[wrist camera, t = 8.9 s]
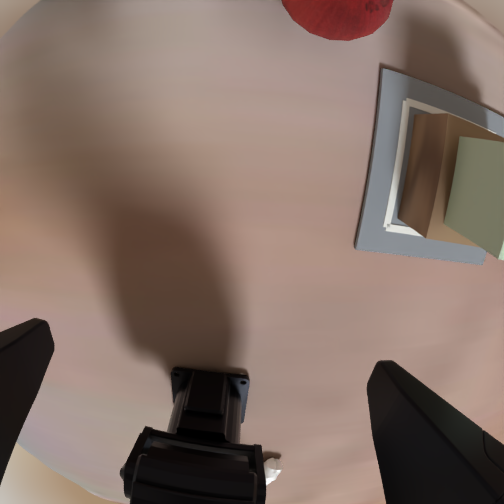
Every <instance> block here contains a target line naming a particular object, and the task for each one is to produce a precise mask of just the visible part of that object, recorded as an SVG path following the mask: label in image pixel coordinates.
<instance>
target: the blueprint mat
mask: <svg viewBox="0 0 504 504" xmlns="http://www.w3.org/2000/svg"><path fill="white" fill-rule="evenodd" d="M439 113H449V114H451V115H454V116H456V117H459V118H461V119H464V120H466V121H468V122H471V123H473V124H475V125H478V126H480V127H482V128H484V129H486V130H489V131H491V132H493V133H495V134H497V135H499V136H501V137H503V138H504V117H502V116H500V115H498V114H496V113H494V112H492V111H490V110H489V109H487V108H485V107H483V106H480V105H478V104H476V103H474V102H472V101H470V100H468V99H466V98H463V97H461V96H459V95H457V94H454V93H452V92H450V91H447V90H445V89H442V88H440V87H437V86H435V85H432V84H429V83H427V82H424V81H421V80H418V79H416V78H413V77H410V76H407V75H404V74H401V73H398V72H394V71H391V70H388V69H385V68H382V69H381V73H380V86H379V97H378V106H377V116H376V124H375V132H374V140H373V147H372V154H371V161H370V167H369V173H368V179H367V185H366V191H365V197H364V202H363V207H362V213H361V218H360V223H359V227H358V232H357V237H356V242H355V246H354V248H355V249H356V250H362V251H371V252H379V253H388V254H396V255H405V256H413V257H421V258H430V259H438V260H446V261H454V262H462V263H470V264H477V265H483V262H484V259H485V256H486V253H487V251H485V250H484V249H482V248H480V247H474V246H468V245H463V244H457V243H451V242H444V241H438V240H432V239H426V238H424V237H423V236H422V235H420V234H419V233H418V232H416V231H415V230H413V229H412V228H410V227H409V226H408V225H406V224H405V223H403V222H402V221H400V220H399V219H398V213H399V208H400V204H401V199H402V194H403V188H404V183H405V177H406V172H407V166H408V159H409V153H410V146H411V139H412V131H413V122H414V115H415V114H439Z"/></svg>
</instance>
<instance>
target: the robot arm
mask: <svg viewBox="0 0 504 504" xmlns="http://www.w3.org/2000/svg"><path fill="white" fill-rule="evenodd" d="M53 352H54V341H53V338H52V334H51V331H50V327H49V324H48V323H47V321H45V320H42V319H38V318H33V319H31V320H28V321H26V322H24V323H21V324H19V325H16V326H14V327H11V328H9V329H7V330H4V331H2V332H0V485H1V482H2V479H3V476H4V473H5V470H6V467H7V464H8V462H9V459H10V456H11V454H12V451H13V449H14V446H15V443H16V441H17V439H18V436H19V434H20V431H21V429H22V427H23V424H24V422H25V420H26V418H27V415H28V413H29V411H30V409H31V407H32V404H33V402H34V400H35V398H36V396H37V394H38V391H39V389H40V386H41V383H42V381H43V378H44V375H45V373H46V370H47V367H48V365H49V362H50V360H51V357H52V355H53ZM176 372H177V373H176ZM178 373H179V374H178ZM171 380H172V391H173V401H174V407H173V411H172V414H171V418H170V422H169V426H168V430H167V432H164V431H160V430H155V429H153V428H152V427H147V426H145V428H144V430H143V432H142V433H140V435H139V437H138V439H137V441H136V443H135V445H134V447H133V449H132V451H131V453H130V455H129V457H128V459H127V461H126V463H125V464H124V466H123V467H122V468H121V470H120V476H121V478H122V479H123V481H124V494H125V497H126V498H129V499H130V504H265V500H266V477H265V470H264V462H263V454H262V446H261V445H257V444H254V445H246V444H240V428H241V424H242V423H243V422H244V416H245V410H246V403H247V396H248V390H249V382H250V379H249V377H248V376H245V375H236V374H226V373H217V372H209V371H201V370H193V369H186V368H179V367H174V368H173V369H172V371H171ZM367 396H368V404H369V411H370V420H371V429H372V436H373V441H374V446H375V451H376V455H377V460H378V464H379V469H380V474H381V479H382V484H383V489H384V494H385V499H386V504H504V445H503V444H502V443H501V442H499V441H498V440H496V439H495V438H494V437H492V436H491V435H490V434H488V433H487V432H486V431H485V430H483V431H482V428H481V427H479V426H478V425H477V424H475V423H474V422H473V421H471V420H470V419H469V418H467V417H466V416H465V415H463V414H462V413H461V412H460V411H458V410H457V409H456V408H454V407H453V406H452V405H450V404H449V403H448V402H446V401H445V400H444V399H443V398H441V397H440V396H439V395H437V394H436V393H435V392H433V391H432V390H431V389H429V388H428V387H427V386H425V385H424V384H423V383H422V382H420V381H419V380H418V379H416V378H415V377H414V376H412V375H411V374H410V373H408V372H407V371H406V370H405V369H403V368H402V367H401V366H399V365H398V364H397V363H395V362H394V361H392V360H380V361H378V362H377V363H376V365H375V367H374V369H373V372H372V374H371V376H370V378H369V380H368V383H367Z"/></svg>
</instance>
